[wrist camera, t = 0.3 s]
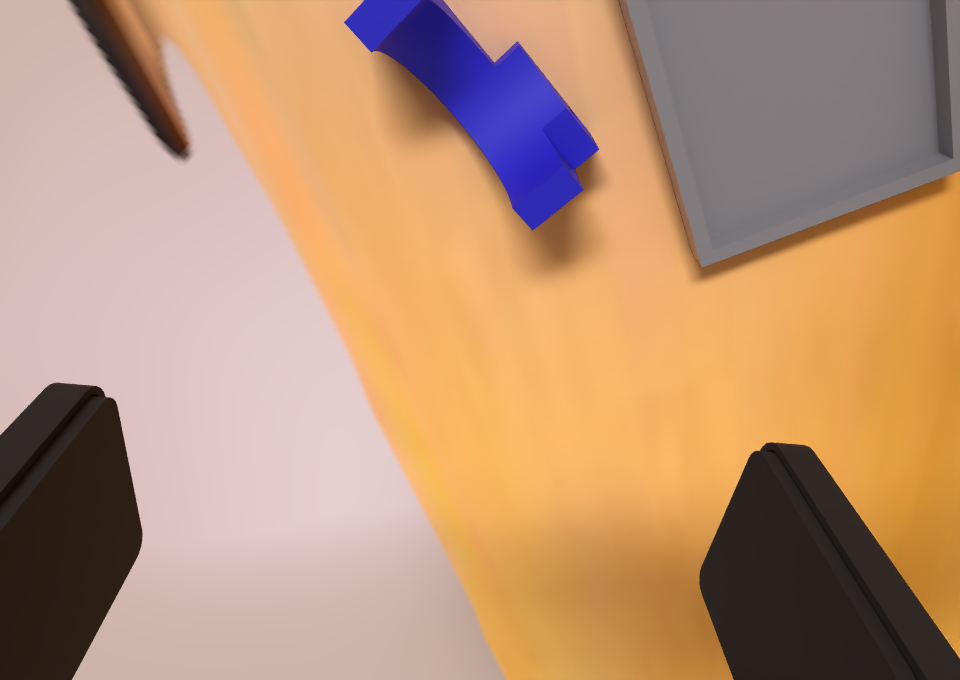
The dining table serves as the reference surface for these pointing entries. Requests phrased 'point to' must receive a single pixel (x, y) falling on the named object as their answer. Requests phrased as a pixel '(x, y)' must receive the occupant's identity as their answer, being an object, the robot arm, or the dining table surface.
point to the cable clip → (487, 100)
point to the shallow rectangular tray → (795, 108)
